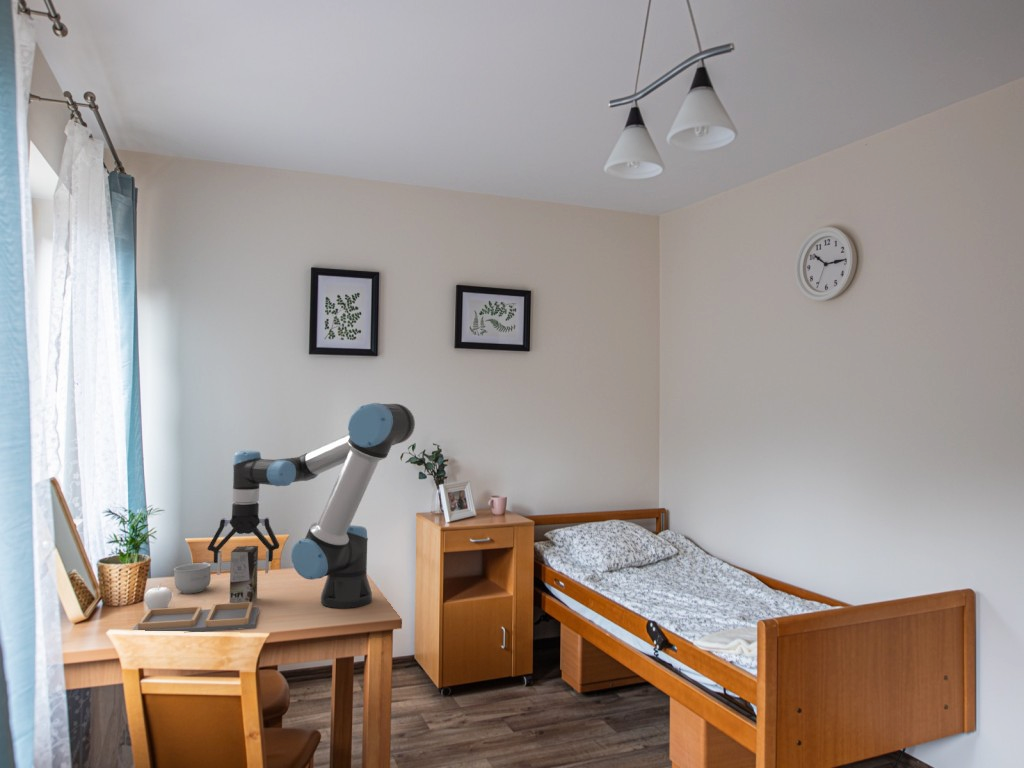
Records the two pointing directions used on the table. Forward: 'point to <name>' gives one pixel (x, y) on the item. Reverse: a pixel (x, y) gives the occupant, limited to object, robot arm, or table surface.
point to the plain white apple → (158, 597)
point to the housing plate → (200, 618)
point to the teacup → (192, 577)
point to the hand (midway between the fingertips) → (243, 573)
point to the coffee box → (243, 574)
